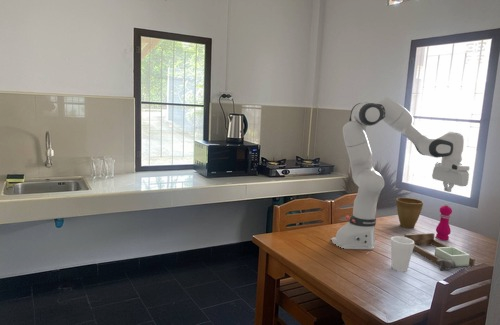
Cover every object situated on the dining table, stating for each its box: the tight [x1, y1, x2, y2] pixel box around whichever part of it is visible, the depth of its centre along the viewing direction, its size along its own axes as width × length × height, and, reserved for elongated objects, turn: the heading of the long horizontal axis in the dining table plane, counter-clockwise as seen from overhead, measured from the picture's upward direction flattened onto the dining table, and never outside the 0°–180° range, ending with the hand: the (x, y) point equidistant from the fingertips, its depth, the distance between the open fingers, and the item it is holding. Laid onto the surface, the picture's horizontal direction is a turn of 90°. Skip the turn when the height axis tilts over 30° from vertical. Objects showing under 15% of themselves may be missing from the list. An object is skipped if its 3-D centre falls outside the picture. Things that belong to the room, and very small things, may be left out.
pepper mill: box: [435, 202, 453, 241], centre depth 205 cm, size 7×7×20 cm
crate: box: [434, 246, 471, 268], centre depth 173 cm, size 10×10×5 cm
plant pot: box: [396, 197, 424, 229], centre depth 225 cm, size 15×15×16 cm
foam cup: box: [390, 236, 415, 273], centre depth 163 cm, size 10×9×13 cm
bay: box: [403, 232, 476, 271], centre depth 179 cm, size 22×31×6 cm
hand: (447, 191), depth 190 cm, fingers closed
